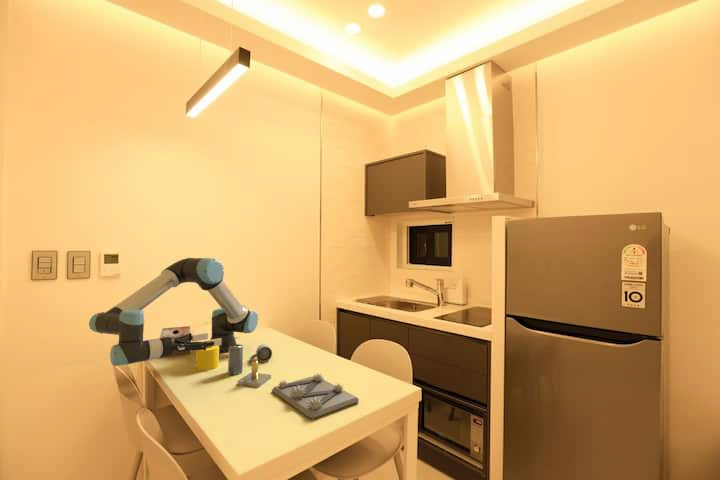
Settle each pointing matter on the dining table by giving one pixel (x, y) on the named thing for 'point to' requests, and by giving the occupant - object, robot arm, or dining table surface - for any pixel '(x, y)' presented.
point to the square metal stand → (254, 376)
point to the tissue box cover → (176, 333)
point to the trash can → (235, 359)
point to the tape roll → (207, 358)
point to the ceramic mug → (262, 353)
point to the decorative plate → (315, 396)
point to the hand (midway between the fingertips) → (214, 338)
